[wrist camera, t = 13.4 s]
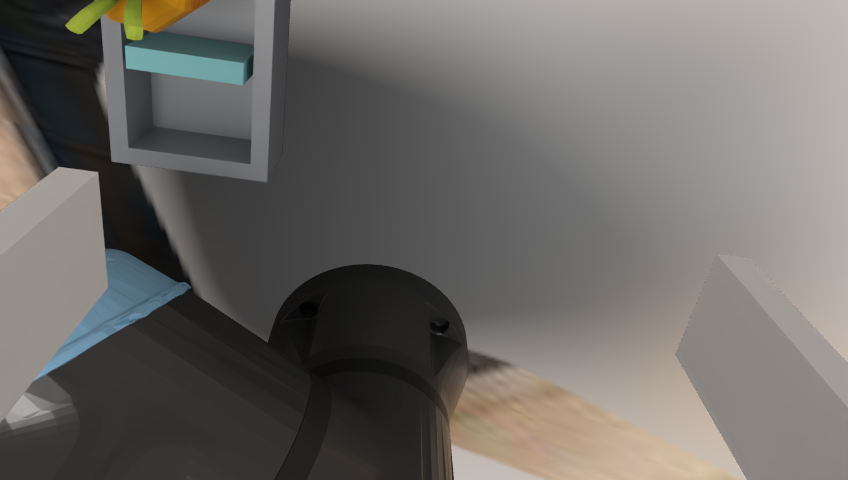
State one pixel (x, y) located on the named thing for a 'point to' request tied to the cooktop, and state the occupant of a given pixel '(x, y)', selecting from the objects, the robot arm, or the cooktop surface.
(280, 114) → the grey open box
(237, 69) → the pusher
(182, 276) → the cooktop surface
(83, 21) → the carrot
